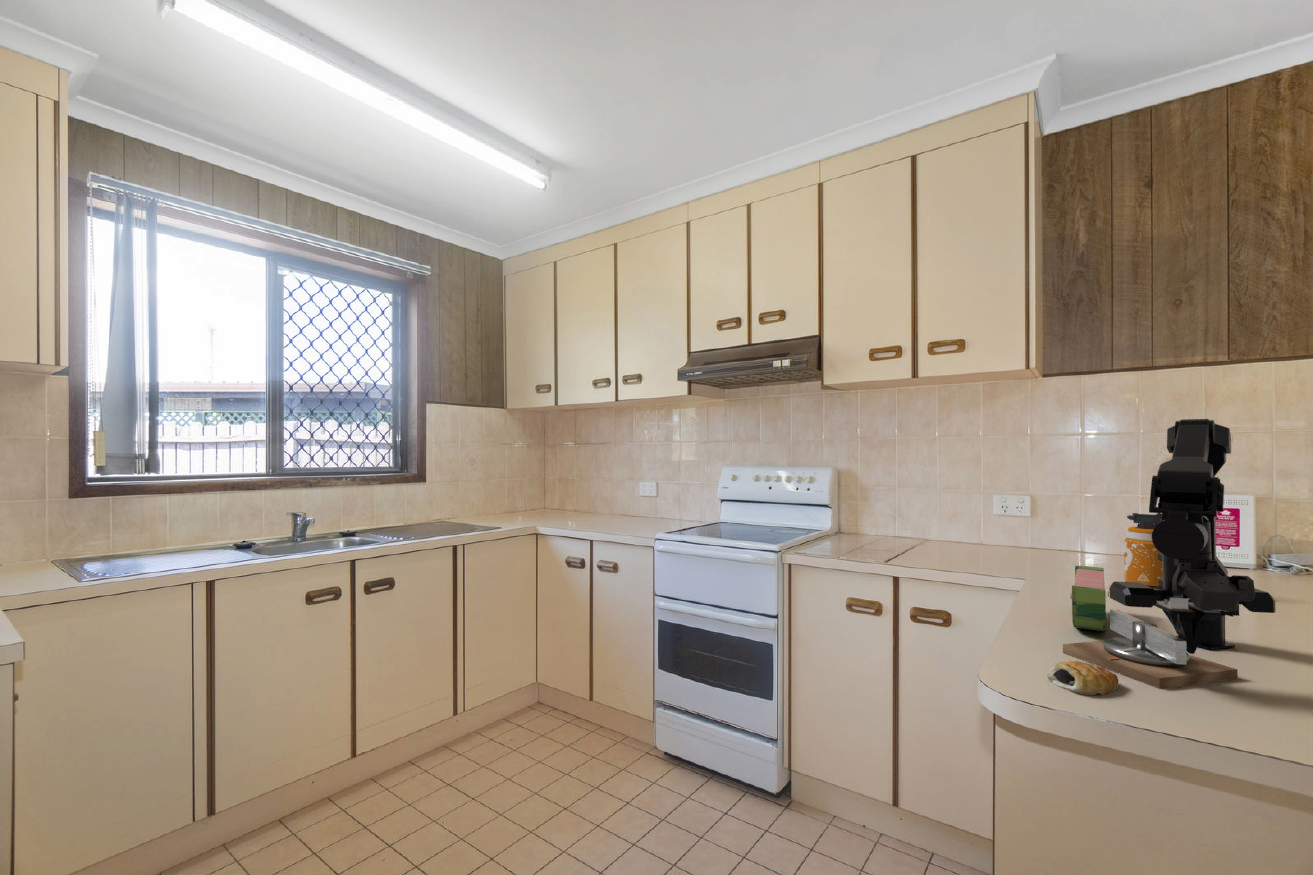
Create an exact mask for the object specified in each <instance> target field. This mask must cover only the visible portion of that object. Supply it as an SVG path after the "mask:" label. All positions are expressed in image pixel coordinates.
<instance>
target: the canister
mask: <svg viewBox="0 0 1313 875" xmlns="http://www.w3.org/2000/svg"><path fill="white" fill-rule="evenodd" d="M1126 519H1128V520H1130V521H1133V523H1134V524H1137V525H1136V526H1130V527H1128V528H1127V530H1126V538H1125V539H1123V543H1124V544H1123V551H1124V553H1123V556H1124V557H1123V558H1124V560H1123V561H1124V564H1123V565H1124V566H1123V567H1124V569H1123V570H1124V576H1123V577H1124V582H1139V583H1141V584H1144V585H1146V586H1149V587H1151V588H1153V589H1163V587H1161V586H1159V580H1163V566H1162V561H1160V560H1158V554H1162V553H1161V552H1159V551H1158V550H1157V549H1156V547H1155V546H1154V544H1153V542H1152V532H1153V530H1154V528H1155V527H1156V526H1157V525H1158V524H1159V523H1161V519H1162V513H1155V514H1152V513H1149V514H1148V513H1147V514H1146V513H1138V512H1133V513H1132V515H1131V514H1128V515H1126Z"/></svg>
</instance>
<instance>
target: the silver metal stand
mask: <svg viewBox="0 0 1313 875" xmlns="http://www.w3.org/2000/svg"><path fill="white" fill-rule="evenodd" d="M1109 630H1111V631H1113V632H1115V633H1117V634H1119V635H1121V636H1123V637H1110V638H1105V639H1104V649H1105V650H1106V651H1107V652H1109V653H1111V654H1113V655H1116V656H1118V657H1121V658H1124V659H1128V660H1132V661H1136V662H1141V663H1146V664H1152V665H1160V666H1184V665H1187V664H1189V655H1190V653H1188V652H1187V651H1186V641H1184V640H1182V639H1180V638H1178V637H1176V636H1177V635H1174V634H1171V633H1169V632H1167V631H1165V630H1163V629H1161V628H1159V627H1158V625H1157V624H1155V623H1152V622H1147V621H1143V620H1141V619H1139V618H1137V617H1135V616H1133V615H1131V614H1128V613H1127V612H1124V611H1122V610H1120V609H1110V608H1109Z"/></svg>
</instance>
